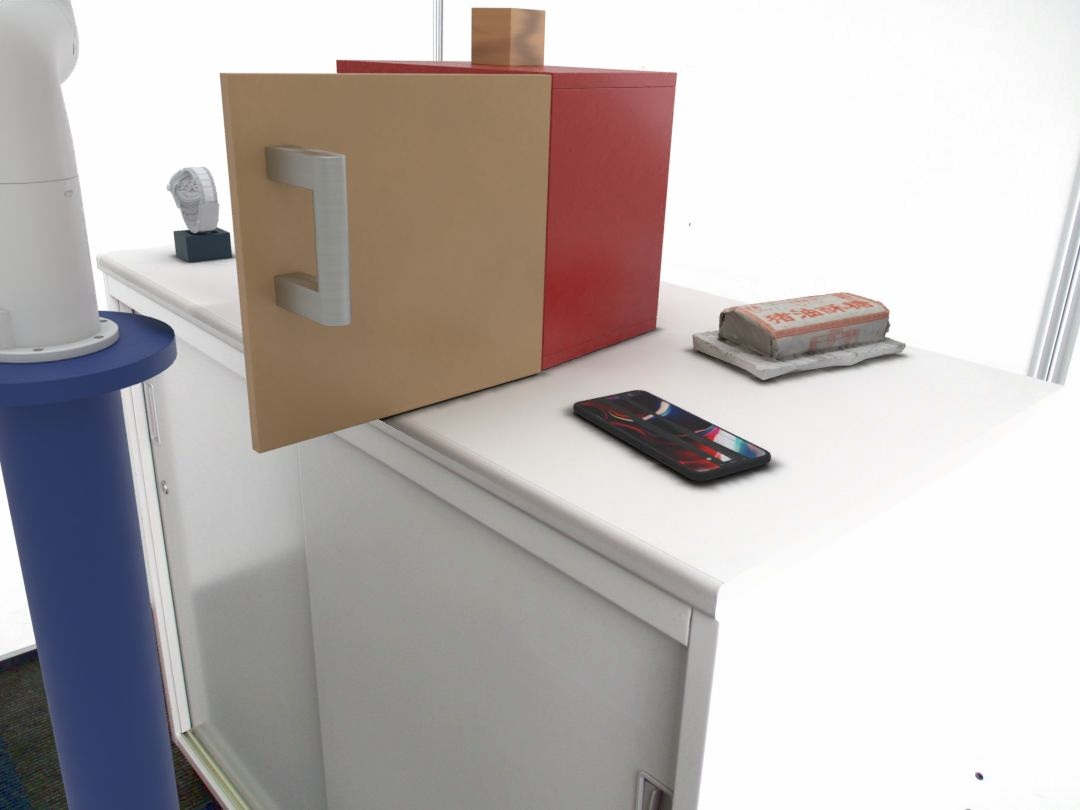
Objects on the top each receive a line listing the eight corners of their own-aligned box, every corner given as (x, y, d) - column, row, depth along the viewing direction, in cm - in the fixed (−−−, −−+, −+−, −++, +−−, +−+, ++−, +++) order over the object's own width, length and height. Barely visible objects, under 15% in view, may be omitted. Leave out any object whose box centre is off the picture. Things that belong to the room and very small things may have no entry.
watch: (213, 248, 121) (204, 162, 117) (237, 259, 116) (229, 169, 112) (169, 253, 118) (159, 164, 114) (193, 265, 112) (183, 172, 108)
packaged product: (833, 282, 94) (913, 306, 86) (826, 328, 96) (904, 356, 88) (693, 300, 85) (769, 329, 77) (688, 350, 87) (762, 383, 79)
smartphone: (641, 387, 75) (777, 454, 63) (640, 395, 75) (776, 463, 63) (567, 402, 71) (697, 476, 60) (567, 411, 72) (696, 486, 60)
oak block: (509, 66, 86) (510, 7, 84) (470, 63, 89) (471, 7, 87) (544, 66, 90) (545, 10, 88) (505, 64, 93) (506, 10, 91)
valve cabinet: (542, 370, 80) (553, 72, 72) (346, 310, 96) (335, 59, 87) (656, 328, 93) (677, 72, 85) (467, 282, 109) (468, 61, 100)
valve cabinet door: (596, 393, 75) (615, 79, 66) (310, 487, 58) (284, 79, 49) (533, 369, 80) (542, 74, 71) (252, 449, 63) (219, 72, 54)
